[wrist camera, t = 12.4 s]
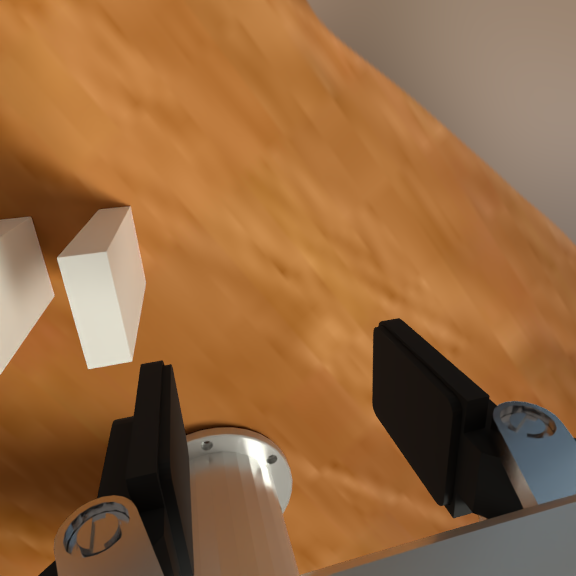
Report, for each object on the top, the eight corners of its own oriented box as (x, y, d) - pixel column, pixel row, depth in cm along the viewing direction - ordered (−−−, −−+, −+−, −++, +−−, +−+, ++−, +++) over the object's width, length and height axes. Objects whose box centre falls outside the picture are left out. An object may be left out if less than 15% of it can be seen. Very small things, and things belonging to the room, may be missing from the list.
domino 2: (130, 206, 26) (106, 251, 17) (146, 283, 28) (132, 361, 18) (99, 209, 25) (56, 257, 16) (116, 287, 27) (88, 369, 18)
